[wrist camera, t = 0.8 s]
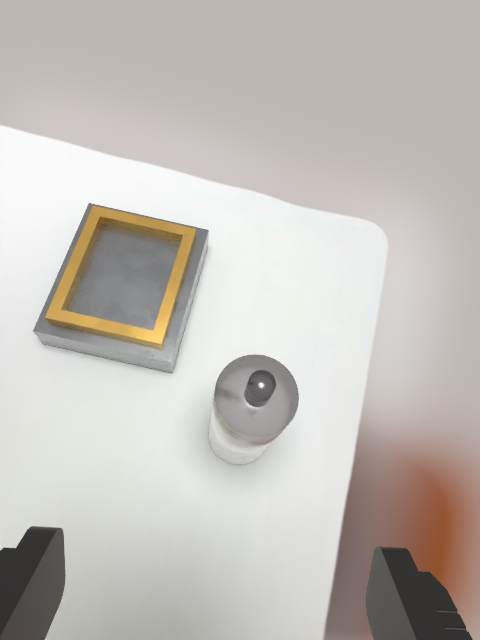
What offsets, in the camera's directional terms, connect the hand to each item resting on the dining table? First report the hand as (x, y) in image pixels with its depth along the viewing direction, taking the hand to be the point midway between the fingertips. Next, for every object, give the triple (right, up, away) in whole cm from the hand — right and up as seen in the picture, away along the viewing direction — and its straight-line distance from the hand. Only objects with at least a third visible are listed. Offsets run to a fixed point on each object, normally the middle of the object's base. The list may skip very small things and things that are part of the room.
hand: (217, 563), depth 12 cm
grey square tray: (-10, +9, +33) cm, 36 cm away
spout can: (0, -4, +28) cm, 28 cm away
